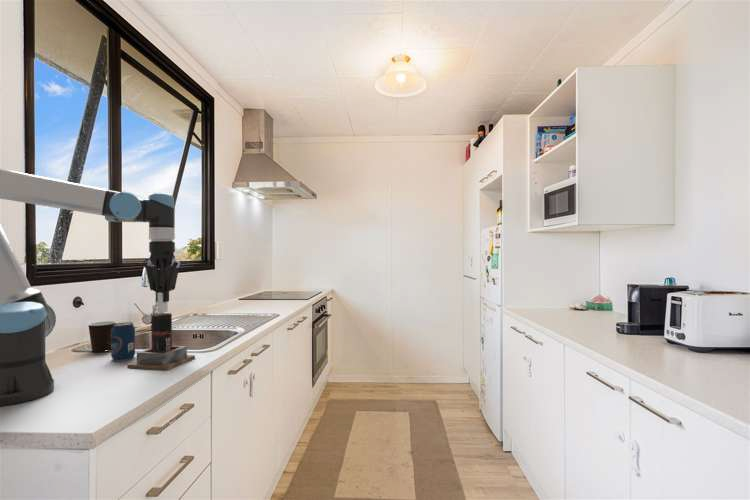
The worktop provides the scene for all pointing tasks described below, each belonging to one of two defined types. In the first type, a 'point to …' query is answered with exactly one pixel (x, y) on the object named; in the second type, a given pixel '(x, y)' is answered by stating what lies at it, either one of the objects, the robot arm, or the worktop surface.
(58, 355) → the worktop surface
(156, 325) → the deodorant
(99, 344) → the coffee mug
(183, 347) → the socket
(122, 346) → the soda can
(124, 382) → the worktop surface
